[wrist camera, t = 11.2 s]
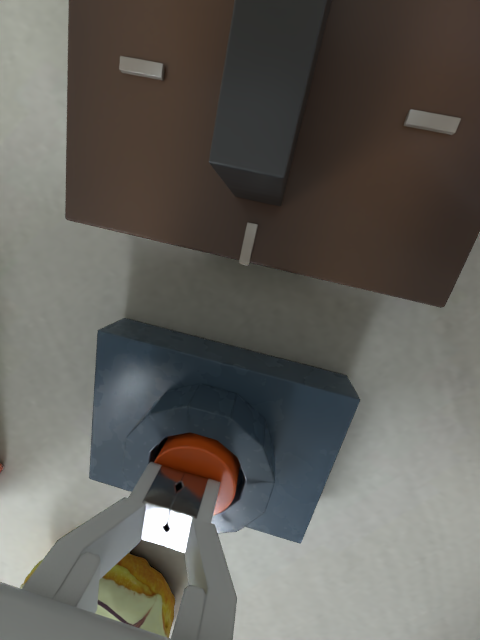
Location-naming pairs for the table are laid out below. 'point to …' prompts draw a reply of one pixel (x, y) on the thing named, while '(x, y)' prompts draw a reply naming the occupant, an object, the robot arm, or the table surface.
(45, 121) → the table surface
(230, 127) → the handle
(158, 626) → the decorated donut
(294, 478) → the button box
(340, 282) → the panel
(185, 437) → the button
